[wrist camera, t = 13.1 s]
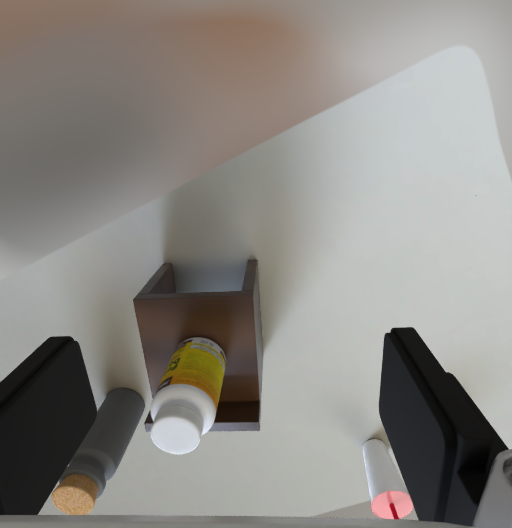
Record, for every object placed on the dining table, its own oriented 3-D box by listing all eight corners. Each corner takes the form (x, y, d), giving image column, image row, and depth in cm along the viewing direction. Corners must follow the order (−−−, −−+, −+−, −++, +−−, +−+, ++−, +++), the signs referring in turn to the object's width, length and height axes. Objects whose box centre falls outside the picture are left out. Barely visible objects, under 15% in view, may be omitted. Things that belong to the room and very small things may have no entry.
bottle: (152, 409, 53) (109, 509, 39) (122, 423, 54) (70, 526, 40) (128, 381, 51) (74, 475, 37) (98, 397, 53) (34, 493, 39)
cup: (366, 429, 52) (391, 510, 41) (398, 440, 53) (432, 523, 42) (349, 454, 54) (370, 538, 43) (381, 464, 55) (409, 550, 44)
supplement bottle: (185, 326, 36) (152, 397, 26) (235, 347, 36) (221, 424, 27) (166, 367, 38) (130, 447, 28) (215, 386, 38) (195, 471, 29)
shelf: (162, 263, 45) (120, 314, 32) (257, 259, 44) (251, 310, 31) (177, 356, 49) (145, 432, 37) (263, 355, 49) (259, 431, 36)
